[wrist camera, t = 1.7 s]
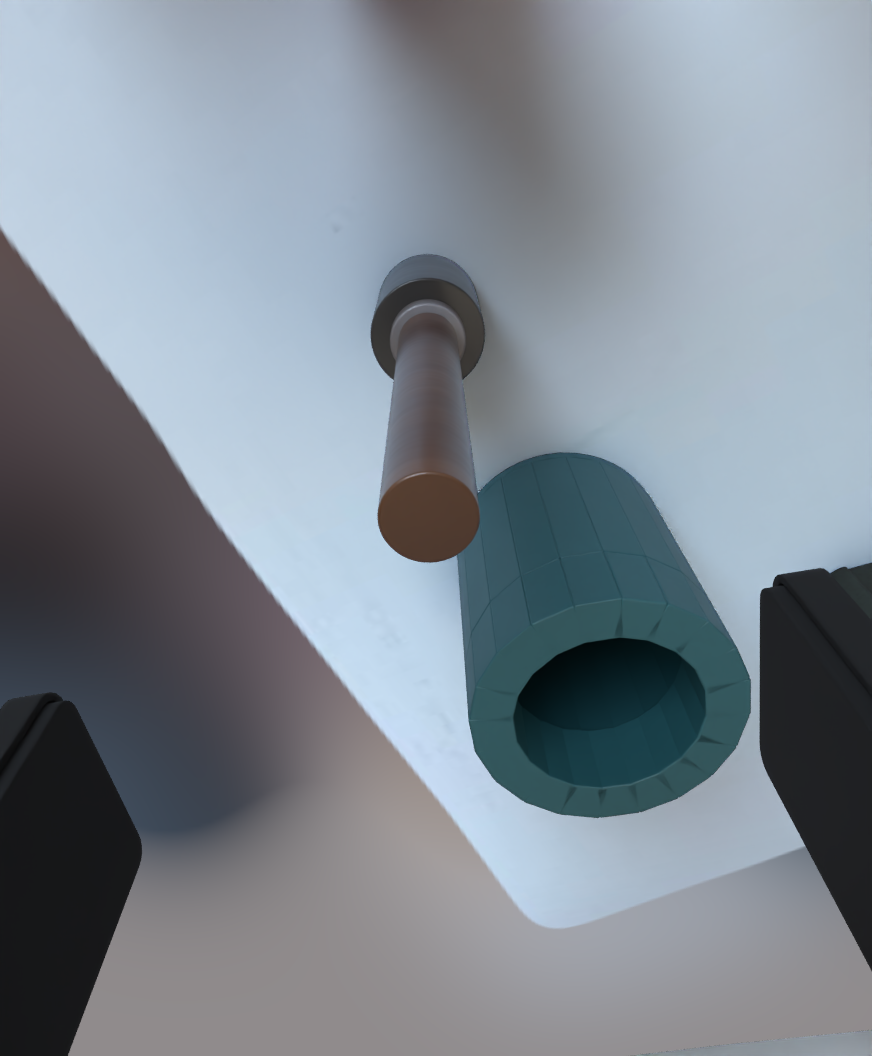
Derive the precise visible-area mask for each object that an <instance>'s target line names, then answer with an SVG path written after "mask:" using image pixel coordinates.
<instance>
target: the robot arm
mask: <svg viewBox="0 0 872 1056" xmlns="http://www.w3.org/2000/svg"><path fill="white" fill-rule="evenodd" d="M760 751H761V756H762V760H763V764H764V767H765V769H766V772H767V774H768V776H769V778H770V780H771V781H772V783H773V785H774V787H775V789H776V791H777V793H778V795H779V797H780V798H781V800H782V802H783V804H784V806H785V808H786V810H787V812H788V814H789V815H790V817H791V819H792V821H793V823H794V825H795V827H796V829H797V831H798V832H799V834H800V836H801V838H802V840H803V842H804V844H805V846H806V848H807V849H808V851H809V853H810V855H811V857H812V859H813V861H814V862H815V865H816V866H817V868H818V870H819V872H820V874H821V876H822V878H823V880H824V882H825V883H826V885H827V887H828V889H829V891H830V893H831V895H832V897H833V898H834V900H835V902H836V904H837V906H838V908H839V910H840V912H841V914H842V916H843V917H844V919H845V921H846V923H847V925H848V927H849V929H850V931H851V932H852V934H853V936H854V938H855V940H856V942H857V944H858V946H859V947H860V950H861V951H862V953H863V955H864V957H865V959H866V961H867V963H868V965H869V966H870V968H871V970H872V620H871V619H870V618H869V617H868V615H867V614H866V613H865V612H864V611H863V610H862V609H861V608H860V607H859V605H858V604H857V603H856V602H855V601H854V600H853V599H852V598H851V597H850V595H849V594H848V593H847V592H846V591H845V590H844V589H843V588H842V587H841V586H840V584H839V583H838V582H837V581H836V580H835V579H834V578H833V577H832V576H831V574H830V573H829V572H828V571H826V570H825V569H822V568H818V569H812V570H805V571H799V572H793V573H787V574H781V575H777V576H776V577H775V579H774V582H773V587H770V588H764V589H763V590H762V591H761V594H760ZM141 856H142V845H141V839H140V837H139V834H138V832H137V830H136V828H135V826H134V824H133V822H132V820H131V818H130V816H129V814H128V812H127V810H126V808H125V806H124V804H123V802H122V800H121V798H120V795H119V794H118V791H117V789H116V787H115V785H114V784H113V781H112V779H111V777H110V775H109V773H108V771H107V769H106V767H105V765H104V763H103V761H102V759H101V757H100V755H99V753H98V751H97V749H96V747H95V745H94V743H93V741H92V739H91V737H90V735H89V733H88V731H87V729H86V727H85V725H84V723H83V721H82V719H81V716H80V714H79V713H78V710H77V709H76V707H75V705H74V704H73V703H71V702H70V701H63V699H62V698H61V697H60V696H59V695H57V694H56V693H44V694H38V695H31V696H25V697H19V698H14V699H11V700H8V701H7V702H6V703H5V704H4V705H3V706H2V708H1V709H0V1056H68V1053H69V1051H70V1048H71V1045H72V1043H73V1040H74V1037H75V1035H76V1032H77V1029H78V1027H79V1024H80V1022H81V1019H82V1016H83V1014H84V1011H85V1008H86V1006H87V1003H88V1000H89V998H90V995H91V992H92V990H93V987H94V985H95V982H96V979H97V977H98V974H99V971H100V968H101V966H102V963H103V961H104V958H105V955H106V953H107V950H108V947H109V945H110V942H111V940H112V937H113V934H114V931H115V929H116V926H117V924H118V921H119V918H120V916H121V913H122V910H123V908H124V905H125V902H126V900H127V897H128V895H129V892H130V889H131V887H132V884H133V881H134V879H135V876H136V873H137V871H138V868H139V865H140V861H141ZM633 1056H872V1030H867V1031H857V1032H847V1033H837V1034H828V1035H817V1036H807V1037H797V1038H787V1039H777V1040H767V1041H756V1042H746V1043H737V1044H727V1045H718V1046H709V1047H701V1048H692V1049H684V1050H675V1051H666V1052H658V1053H649V1054H641V1055H633Z"/></svg>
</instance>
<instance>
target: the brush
mask: <svg viewBox="0 0 872 1056" xmlns="http://www.w3.org/2000/svg"><path fill="white" fill-rule="evenodd" d="M484 342H485V328H484V322H483V318H482V314H481V310H480V307H479V303H478V299H477V295H476V292H475V289H474V286H473V283H472V281H471V280H470V278H469V276H468V275H467V273H466V272H465V271H464V270H463V269H462V268H461V267H460V266H459V265H457V264H456V263H455V262H453V261H451V260H449V259H447V258H445V257H442V256H438V255H432V254H424V255H417V256H413V257H410V258H408V259H406V260H404V261H402V262H400V263H399V264H398V265H397V266H395V267H394V268H393V269H392V270H391V271H390V272H389V274H388V275H387V277H386V278H385V280H384V282H383V284H382V286H381V289H380V293H379V297H378V301H377V305H376V309H375V313H374V316H373V320H372V325H371V343H372V348H373V352H374V355H375V357H376V359H377V361H378V363H379V365H380V366H381V368H382V369H383V370H384V371H385V373H386V374H387V375H388V376H389V377H390V378H392V379H393V380H394V382H393V391H392V399H391V407H390V416H389V424H388V432H387V440H386V449H385V457H384V465H383V474H382V482H381V490H380V498H379V507H378V525H379V529H380V532H381V534H382V536H383V538H384V539H385V541H386V542H387V543H388V545H389V546H390V547H391V548H392V549H394V550H395V551H396V552H397V553H399V554H400V555H402V556H404V557H406V558H408V559H411V560H414V561H418V562H439V561H444V560H447V559H450V558H452V557H454V556H456V555H457V554H459V553H460V552H462V551H463V550H464V549H465V548H466V547H467V546H468V545H469V544H470V543H471V542H472V540H473V539H474V537H475V535H476V533H477V531H478V528H479V523H480V509H479V501H478V494H477V486H476V479H475V471H474V463H473V456H472V448H471V441H470V433H469V426H468V418H467V410H466V403H465V395H464V388H463V379H464V378H465V377H466V376H467V375H469V374H470V372H471V371H472V370H473V369H474V367H475V366H476V364H477V363H478V361H479V359H480V357H481V354H482V351H483V347H484Z"/></svg>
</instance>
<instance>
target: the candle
mask: <svg viewBox="0 0 872 1056" xmlns="http://www.w3.org/2000/svg"><path fill="white" fill-rule="evenodd" d="M831 576H832V577H833V578H834V579H835V580H836V581H837V582H838V583H839V584H840V586H841V587H842V588H843V589H844V590H845V591H846V592H847V593H848V594H849V595H850V597H851V598H852V599H853V600H854V601H855V602H856V603H857V604H858V605H859V607H860V608H861V609H862V610H863V611H864V612H865V613H866V614H867V615H868V617H869V618H870V619H871V620H872V563H869V564H866V565H862V566H858V567H855V568H851V569H847V567H843V568H840V569H837V570H836V571H834V572H832V573H831Z"/></svg>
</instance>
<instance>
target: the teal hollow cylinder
mask: <svg viewBox="0 0 872 1056" xmlns="http://www.w3.org/2000/svg"><path fill="white" fill-rule="evenodd" d="M478 501H479V509H480V523H479V528H478V531H477V533H476V535H475V537H474V539H473V540H472V542H471V543H470V544H469V545H468V546H467V547H466V548H465V549H464V550H463V551H462V552H460V553H459V554H457V558H458V572H459V587H460V601H461V616H462V631H463V645H464V660H465V674H466V689H467V703H468V718H469V725H470V730H471V734H472V739H473V744H474V749H475V752H476V754H477V755H478V757H479V758H480V760H481V761H482V763H483V764H484V766H485V767H486V769H487V770H488V771H489V773H490V774H491V776H492V777H493V779H494V780H495V781H496V782H497V783H499V784H500V785H501V786H503V787H504V788H506V789H507V790H508V791H510V792H511V793H513V794H514V795H515V796H517V797H518V798H519V799H521V800H522V801H524V802H526V803H529V804H531V805H534V806H537V807H540V808H543V809H546V810H549V811H551V812H554V813H557V814H561V815H571V816H582V817H593V818H599V817H601V818H602V817H609V816H617V815H624V814H631V813H638V812H639V811H640V812H643V811H645V810H648V809H651V808H653V807H656V806H659V805H662V804H664V803H667V802H670V801H672V800H675V799H677V798H678V797H681V796H682V795H684V794H685V793H687V792H688V791H690V790H691V789H693V788H694V787H696V786H697V785H699V784H700V783H702V782H703V781H705V780H706V779H708V778H709V777H711V775H713V774H714V773H715V772H716V771H717V769H718V768H719V767H720V766H721V765H722V764H723V762H724V761H725V760H726V759H727V758H728V757H729V755H730V754H731V753H732V752H733V751H734V750H735V748H736V746H737V745H738V742H739V740H740V737H741V735H742V732H743V730H744V727H745V725H746V723H747V720H748V718H749V714H750V712H751V680H750V678H749V674H748V672H747V669H746V667H745V665H744V663H743V660H742V658H741V656H740V654H739V651H738V649H737V647H736V645H735V643H734V642H733V640H732V638H731V637H730V635H729V633H728V631H727V630H726V628H725V626H724V624H723V623H722V621H721V619H720V617H719V616H718V614H717V612H716V610H715V609H714V607H713V605H712V603H711V602H710V600H709V599H708V596H707V595H706V593H705V591H704V589H703V588H702V586H701V584H700V583H699V581H698V579H697V577H696V576H695V574H694V572H693V570H692V569H691V567H690V565H689V563H688V562H687V560H686V558H685V556H684V555H683V553H682V551H681V550H680V548H679V546H678V544H677V543H676V541H675V539H674V537H673V536H672V534H671V532H670V530H669V529H668V527H667V525H666V523H665V522H664V520H663V518H662V516H661V515H660V513H659V511H658V510H657V508H656V506H655V504H654V503H653V501H652V499H651V497H650V496H649V494H648V493H647V492H646V491H645V490H644V488H643V487H642V486H641V485H640V484H639V483H638V482H637V481H636V479H635V478H634V477H632V476H631V475H630V474H629V473H627V472H626V471H625V470H623V469H622V468H620V467H618V466H617V465H615V464H613V463H611V462H608V461H606V460H604V459H601V458H597V457H594V456H590V455H585V454H577V453H555V454H546V455H542V456H538V457H533V458H531V459H528V460H525V461H522V462H520V463H518V464H516V465H514V466H512V467H510V468H508V469H506V470H505V471H503V472H502V473H500V474H499V475H497V476H496V477H495V478H493V479H492V480H491V481H490V482H489V483H488V484H486V485H485V487H484V488H483V489H482V490H481V491H480V492H479V493H478Z"/></svg>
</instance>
